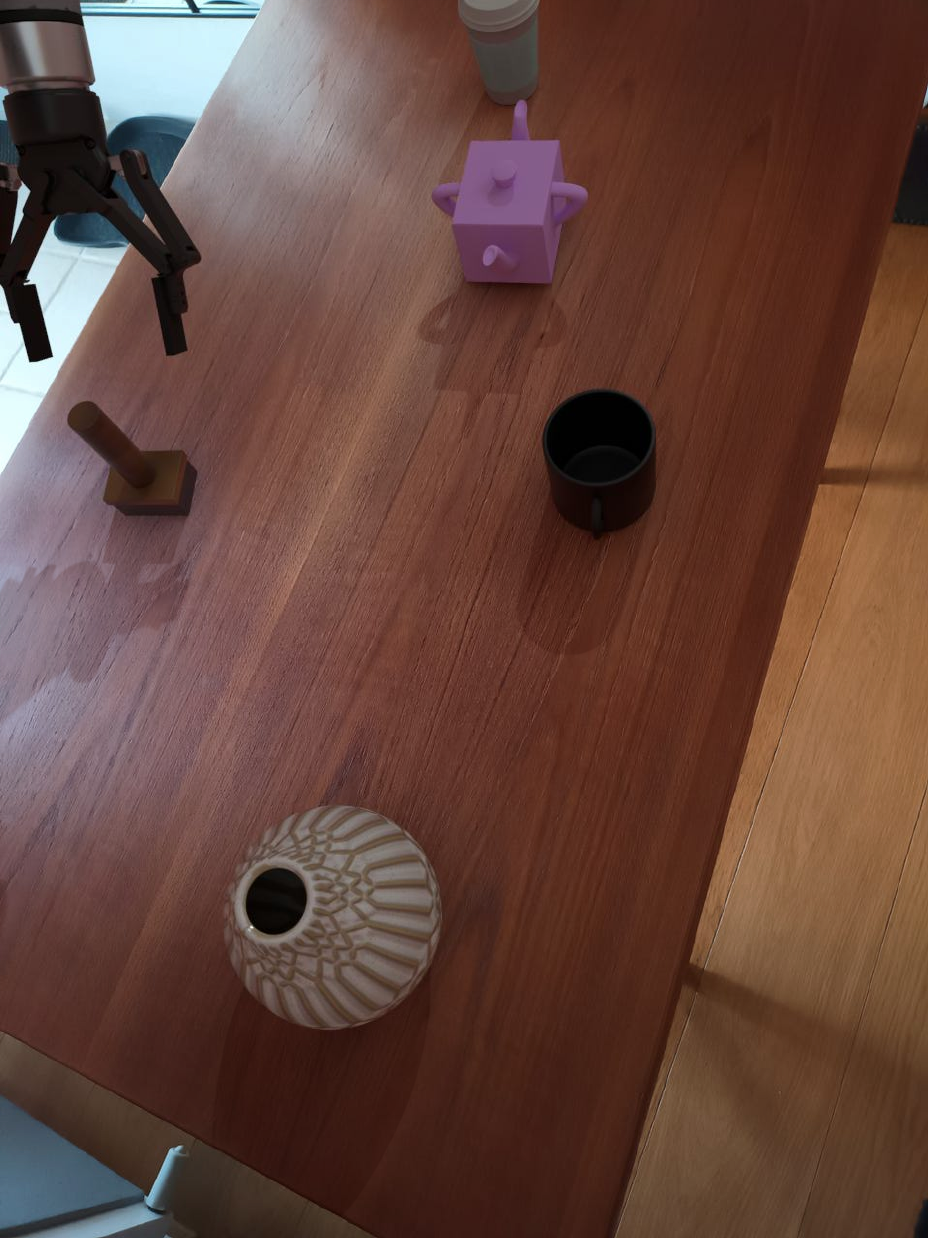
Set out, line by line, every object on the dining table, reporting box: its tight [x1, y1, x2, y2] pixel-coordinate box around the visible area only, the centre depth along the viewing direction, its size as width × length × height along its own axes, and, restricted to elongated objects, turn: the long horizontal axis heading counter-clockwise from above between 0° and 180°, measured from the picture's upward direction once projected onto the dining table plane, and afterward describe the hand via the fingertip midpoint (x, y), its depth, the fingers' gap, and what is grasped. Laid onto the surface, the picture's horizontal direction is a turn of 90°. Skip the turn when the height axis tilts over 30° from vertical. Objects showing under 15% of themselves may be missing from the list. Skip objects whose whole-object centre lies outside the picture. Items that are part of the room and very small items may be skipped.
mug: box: [541, 388, 657, 541], centre depth 83 cm, size 9×12×9 cm
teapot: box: [431, 100, 589, 285], centre depth 94 cm, size 15×13×11 cm
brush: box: [66, 400, 198, 517], centre depth 90 cm, size 7×5×14 cm
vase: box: [222, 804, 443, 1031], centre depth 69 cm, size 16×16×20 cm
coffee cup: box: [457, 0, 541, 106], centre depth 102 cm, size 8×8×12 cm
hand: (108, 356), depth 87 cm, fingers open, 13 cm apart
